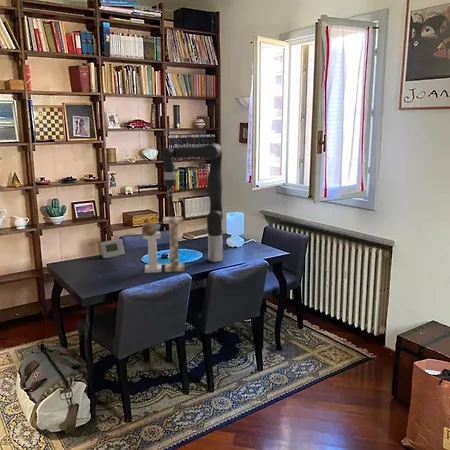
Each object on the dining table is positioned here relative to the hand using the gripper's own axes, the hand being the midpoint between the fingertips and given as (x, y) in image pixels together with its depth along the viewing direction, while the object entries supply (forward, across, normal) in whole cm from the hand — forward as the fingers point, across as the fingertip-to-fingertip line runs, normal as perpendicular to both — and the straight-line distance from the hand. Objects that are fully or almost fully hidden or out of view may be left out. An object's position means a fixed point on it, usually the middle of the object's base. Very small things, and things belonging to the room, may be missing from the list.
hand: (170, 202), depth 308 cm
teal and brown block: (+13, -26, +12) cm, 31 cm away
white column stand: (+36, -31, +12) cm, 49 cm away
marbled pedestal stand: (+36, -31, -1) cm, 48 cm away
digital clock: (+36, +2, +40) cm, 54 cm away
